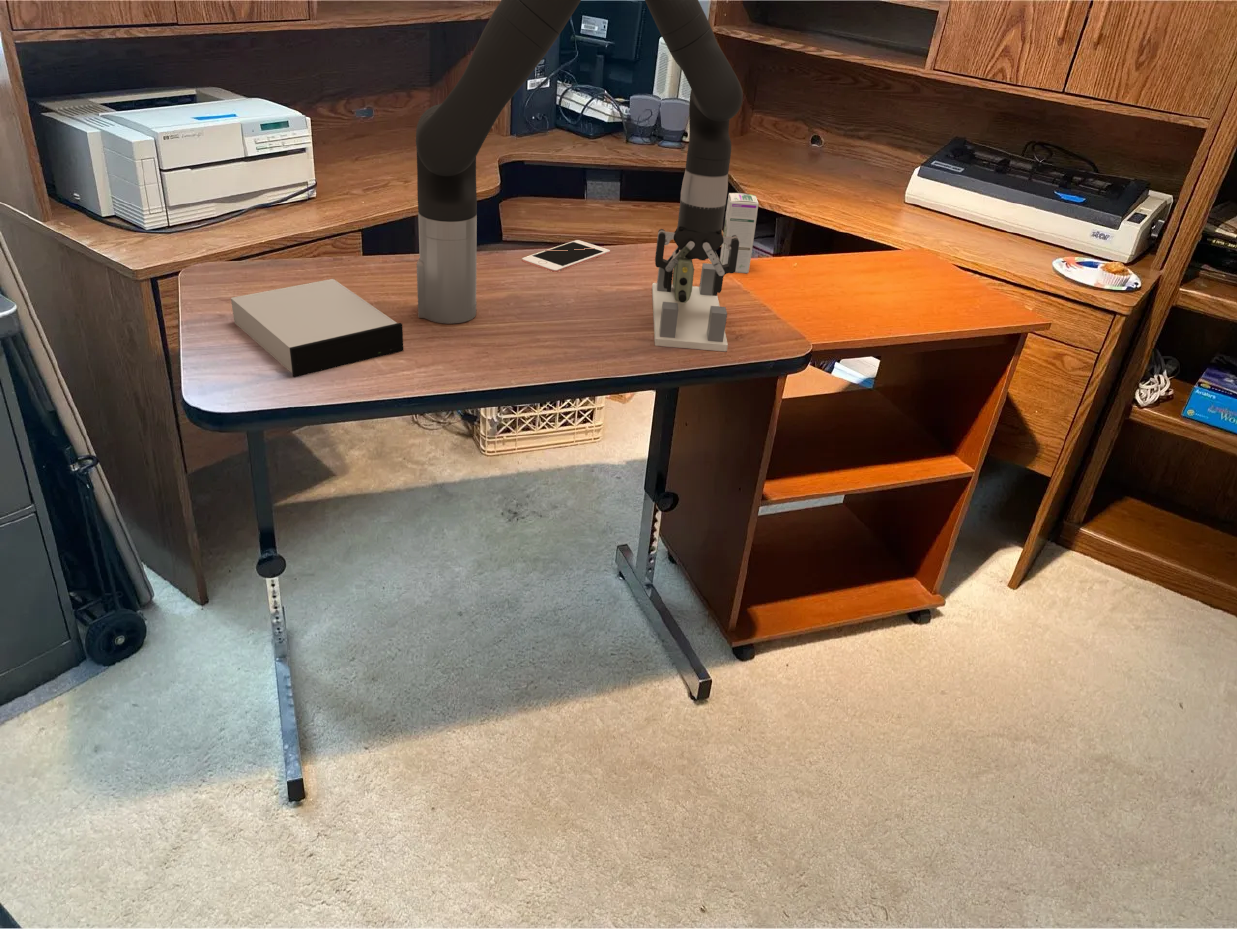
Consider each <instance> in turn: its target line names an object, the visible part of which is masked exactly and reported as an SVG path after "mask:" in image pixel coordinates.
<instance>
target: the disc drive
mask: <svg viewBox="0 0 1237 929" xmlns="http://www.w3.org/2000/svg"><path fill="white" fill-rule="evenodd" d="M230 302H231V309H232V315H233V317H232V318H233V323H234V324H235V325H236V326H237V327H239V329H240V330H242V331H243V332H244V333H245V334H246V335H248V336H249V337H250V338H251V340H254V342H256V343H257V344H258V345H259V346H260V347H261V348H262V349H264V350H265V351H266V352H267V353H268V354H269V355H270V356H271V357H272V358H274V359H275V360H276V361H277V362H279V363H280V365H282V366H283V367H284V368H285V369H286V370H288V371H289V373H291V374H292V377H293V378H297V377H302V376H305V375H310V374H313V373H319V372H322V371H327V370H331V369H334V368H339V367H343V366H347V365H351V364H355V363H358V362H362V361H363V362H364V361H368V360H372V359H375V358H381V357H384V356H387V355H388V356H389V355H392V354H396V353H401V352H404V335H403V334H404V329H403V323H402V322H396V321H395V320H393V319H392V318H391V317H389V316H388V315H386V314H384V312H382V311H381V310H379V309H377V308H376V307H375V306H373V305H372V304H371V303H369V302H368V301H366V300H365V299H363V298H362V297H361V296H359V295H358V294H356V293H355V292H353V291H352V290H350V289H349V288H347V287H346V286H344V285H343V284H341V283H340V282H338V280H335V278H331V279H324V280H319V281H313V282H310V283H304V284H298V285H291V286H287V287H283V288H282V287H281V288H276V289H271V290H265V291H260V292H255V293H250V294H244V295H238V296H233V297H230Z"/></svg>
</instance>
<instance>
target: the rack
mask: <svg viewBox="0 0 1237 929" xmlns="http://www.w3.org/2000/svg"><path fill="white" fill-rule="evenodd" d="M657 271H658V272H657V279H656V280H657V281H656V282H652V286H651V296H652V297H651V298H652V314H653V315H652V316H653V317H652V318H653V332H654V334H653V335H654V336H653V338H654V340H653V341H654V346H655V347H667V348H677V349H678V348H680V349H692V350H702V351H703V350H704V351H716V352H727V351H728V345H729V344H728V340H727V335H726V324H727V318H728V312H727V306H721V305H720V302H719V298H718V297H719V296H718V295H717V296H713V294H712V288H713V281H714V274H715V272H716V270H715V268H714V266H713V265H712V263H706V262H705V263H704V262H703V263H702V266H701V271H700V272H701V273H700V280H699V286H696V285H695V286H693V285H692V292H691V296H690V299H689V300H688V301H687V302H686V303H682V302H678V301H677V300H675V289H674V287H673V285H672V286H671V292H667V290H666V289H665V288H664V286H663V279H664V269H662V268H660V267H658V270H657Z"/></svg>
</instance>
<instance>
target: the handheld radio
mask: <svg viewBox="0 0 1237 929" xmlns="http://www.w3.org/2000/svg"><path fill="white" fill-rule="evenodd" d="M694 274H695V267H694V262H693V259H687V258H686V257H684V258H683V259H681V260H678V264H677V265H676V266H675V267H674V268H673V277H672V285H673V287H674V289H675V300H677V301H678V302H682V303H686V302H687V301H688V300H689V299H690V296H691V292H692V286H693V283H694Z"/></svg>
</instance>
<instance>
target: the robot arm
mask: <svg viewBox="0 0 1237 929" xmlns="http://www.w3.org/2000/svg"><path fill="white" fill-rule="evenodd" d="M581 1H582V0H500V2H499V3H498V5H497V6H496V8H495V9H494V10H493V13H492V14H491V16H490V18H489V19H488V21H487V23H486V25H485V27H484V29H483V31H482V33H481V35H480V37H479V39H478V41H477V44H476V45H475V48H474V50H473V52H472V55H471V57H470V60H469V61H468V64H467V66H466V68H465V70H464V72H463V74H462V76H460V78H459V80H458V81H457V83H456V85H455V86H454V87H453V88H452V90H451V91H450V92H449V94H448V95H447V97H446V98H445V99H444V100H443V101H442V103H439V104H435V105H432V106H431V107H429V108H427V109H426V110H425V111H424V112H423V113H422V115H420V117H419V119H418V121H417V123H416V124H417V125H416V130H415V146H416V171H417V172H416V173H417V174H416V175H417V180H416V182H417V184H416V186H417V187H416V189H417V194H416V195H417V213H418V215H417V216H418V219H417V220H418V244H419V245H418V247H419V248H418V249H419V250H418V251H419V258H418V260H417V262H416V288H417V289H416V290H417V317H418V318H421V319H426V320H428V321H431V322H434V323H439V324H452V325H453V324H460V323H465V322H469V321H470V320H473V319H474V318H475V317H476V316H477V304H478V303H477V245H478V244H477V239H478V238H477V233H478V232H477V231H478V230H477V225H478V224H477V222H478V221H477V219H478V218H477V217H478V216H477V214H478V213H477V212H478V210H477V209H478V208H477V207H478V206H477V204H478V198H477V196H478V194H477V192H478V191H477V156H478V154H479V152H480V150H481V148H482V146H483V143H484V142H485V140H486V138H487V136H488V135H489V133H490V131H491V129H492V127H493V126H494V125H495V123H496V121H497V119H498V117H499V116H500V114H501V112H503V109H504V108H505V107H506V105H507V104H508V103H509V102H510V100H511V99H512V98H513V97H514V95H515V94H516V93H517V91H519V90H520V88H521V87H522V86H523V85H524V83H525V82H526V81H527V79H528V78H529V77H530V76H531V74H532V73H533V72H534V70H535V69H536V68H537V66H538V65H539V63H540V62H541V61H542V60H543V58H544V57H545V56H546V55H547V53H548V51H549V50H550V49H551V47H552V46H553V45H554V43H555V42H556V40H557V39H558V37H560V34H562V31H563V30H564V29H565V26H566V25H568V24H567V23H568V22H569V21H570V20H571V17H572V16H573V14H574V13H575V11H576V9H577V7H578V6H579V5H580V3H581ZM644 1H645V4H646V6H647V7H648V8H647V9H648V10H649V13H650V15H651V16H652V19H653V21H654V23H655V25H656V28H657V30H658V31H659V33H660V36H661V37H662V39H663V42H664V43H665V46H666V48H667V49H668V51H669V53H670V55H671V57H672V59H673V60H674V62H675V63H676V64H677V65H678V67H679V68H680V69H681V71H682V73H683V74H684V76H685V79H686V80H687V83H688V85H689V87H690V93H689V107H688V108H689V110H688V111H689V112H688V113H689V114H688V115H689V116H688V118H689V120H688V121H689V122H688V123H689V124H688V125H689V126H688V128H689V129H688V130H689V139H688V140H689V141H688V146H687V152H686V153H687V154H686V162H685V171H684V175H683V179H682V183H681V184H682V185H681V190H680V200H679V202H680V203H679V209H678V210H679V211H678V220H677V226H676V229H675V230H674V232H673V231H666V230H664V228H660V229H659V230H658V231H657V239H656V247H655V257H654V263H655V264H654V265H655V266H656V268H659V267H660V268H662V269H664V279H663V286H664V288H665V289H666V290H667V292H671V286H672V281H673V270H674V267H675V266H676V265H677V264H678V260H681V259H683V258H684V257H686V258H687V259H692V260H699V261H706V260H708V259H709V262H710V264H712V265H713V266H714V268H715V270H716V272H715V274H714V281H713V288H712V294H713V296H718V294H720V293H721V292H722V289H723V281H724V277H725V275H727V274H735V273H736V272H735V270H736V263H737V256H738V249H739V240H738V237H737V236H736V235H733V236H732V237H726V236H723V227H724V220H725V218H724V217H725V213H726V211H725V210H726V205H727V197H728V187H729V170H730V163H731V154H732V141H731V137H730V132H729V128H730V120H731V119H732V118H734V117H735V116H736V115H737V114H738V113H739V111H740V110H741V106H742V105H743V101H744V100H743V98H744V96H743V95H744V94H743V93H744V92H743V88H742V85H741V82H740V81H739V79H738V76H737V75H736V73H735V71H734V69H733V67H732V65H731V63H730V61H728V59H727V57H726V55H725V54H724V51H723V50H722V49H721V47H720V45H719V43H718V41H717V39H716V37H715V34H714V30H713V29H712V26H711V24H710V22H709V20H708V18H707V16H706V13H705V11H704V9H703V7H702V5H701V3H700V1H699V0H644ZM672 240H674V242H675V244H676V248H675V249H674V251H672V254H671V255H670V256H669V257H668V259H664V252H665V246H668V245H669V244H670V242H671V241H672ZM723 243H724V244H726V248H727V250H729V256H728V264H725V265H722V263H721V261H720V256H718V254H717V250H719V248H721V247H722V244H723Z"/></svg>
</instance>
